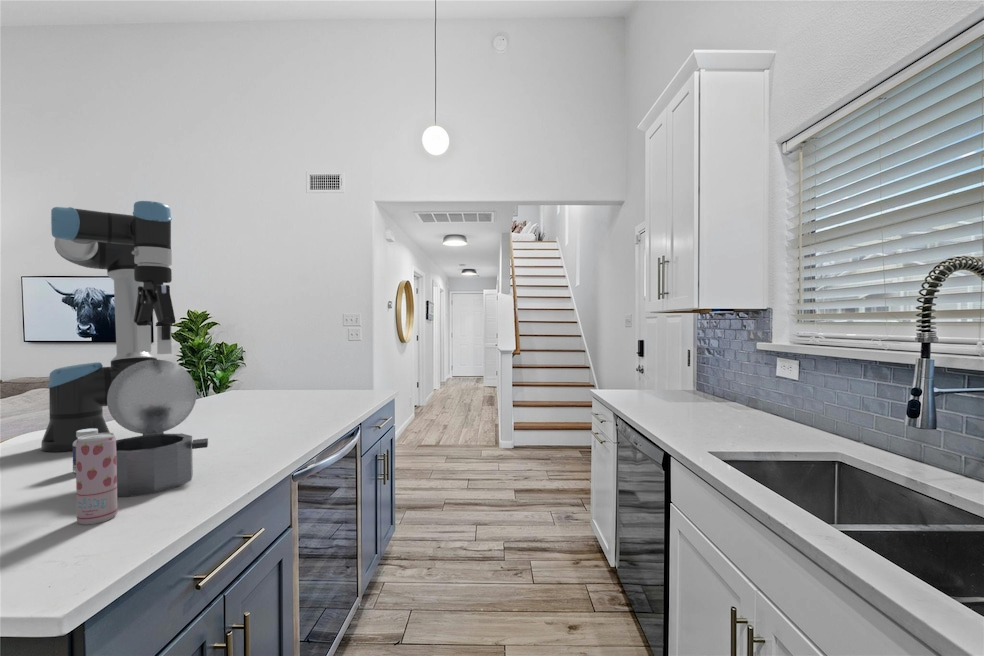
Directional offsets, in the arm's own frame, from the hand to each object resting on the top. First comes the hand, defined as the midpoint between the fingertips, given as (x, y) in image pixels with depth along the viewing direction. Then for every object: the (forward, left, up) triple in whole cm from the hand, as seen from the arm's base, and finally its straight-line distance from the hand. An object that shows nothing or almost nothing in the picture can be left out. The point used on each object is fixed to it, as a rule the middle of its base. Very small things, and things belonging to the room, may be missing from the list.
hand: (154, 352), depth 119 cm
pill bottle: (-3, -14, -28) cm, 31 cm away
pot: (+15, 0, -28) cm, 32 cm away
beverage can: (+34, -5, -28) cm, 44 cm away
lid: (+5, 0, -11) cm, 12 cm away
